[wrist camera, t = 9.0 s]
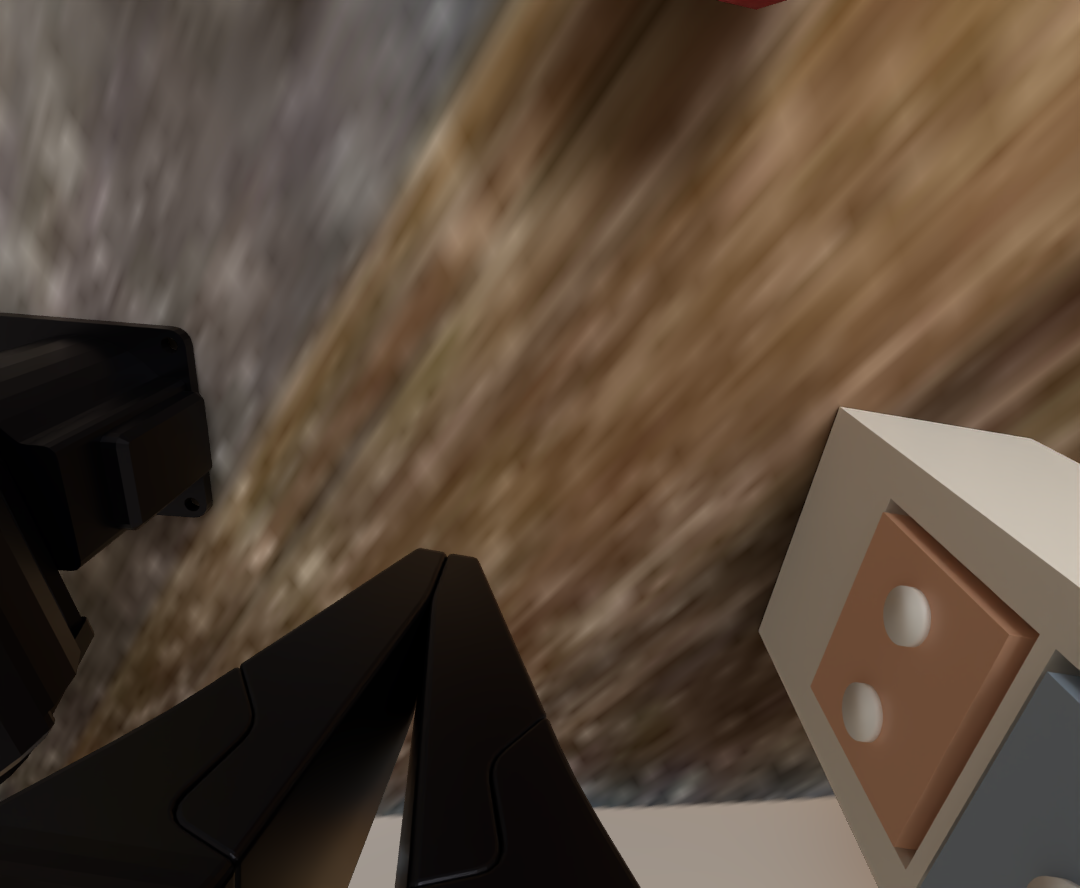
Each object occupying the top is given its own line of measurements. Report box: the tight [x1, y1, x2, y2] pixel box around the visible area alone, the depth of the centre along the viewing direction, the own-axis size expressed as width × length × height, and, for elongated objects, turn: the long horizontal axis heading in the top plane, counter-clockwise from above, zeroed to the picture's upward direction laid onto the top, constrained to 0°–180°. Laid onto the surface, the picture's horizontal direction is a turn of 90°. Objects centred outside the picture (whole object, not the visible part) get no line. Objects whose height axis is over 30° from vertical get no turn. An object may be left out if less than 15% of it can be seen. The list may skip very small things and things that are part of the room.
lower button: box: [810, 512, 1040, 850], centre depth 16 cm, size 3×6×5 cm, turn 170°
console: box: [759, 407, 1080, 888], centre depth 15 cm, size 6×9×16 cm
